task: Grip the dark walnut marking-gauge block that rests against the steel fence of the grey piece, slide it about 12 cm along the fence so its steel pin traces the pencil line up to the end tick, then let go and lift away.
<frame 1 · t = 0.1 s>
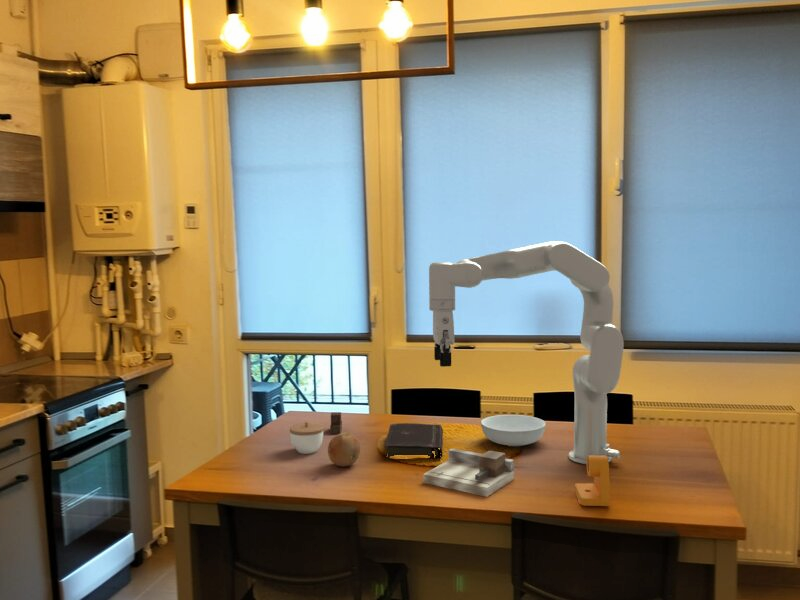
hand: (442, 362, 216), 31 cm above the table, tool pointing down, fingers open, 9 cm apart
gauge: (487, 466, 203), point 5 cm above the table, slide at 0.0 cm
bracket: (591, 501, 192), on the table
lidded jar: (307, 451, 237), on the table
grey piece: (468, 480, 207), on the table
serving bowl: (512, 443, 242), on the table
diary: (413, 449, 239), on the table
onion: (344, 466, 222), on the table
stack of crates: (340, 433, 258), on the table
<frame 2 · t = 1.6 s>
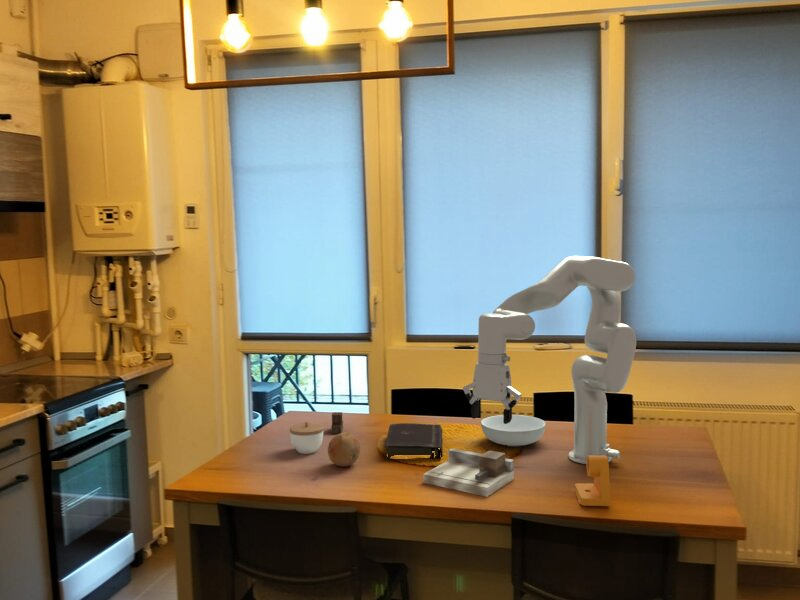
hand: (491, 420, 204), 18 cm above the table, tool pointing down, fingers open, 9 cm apart
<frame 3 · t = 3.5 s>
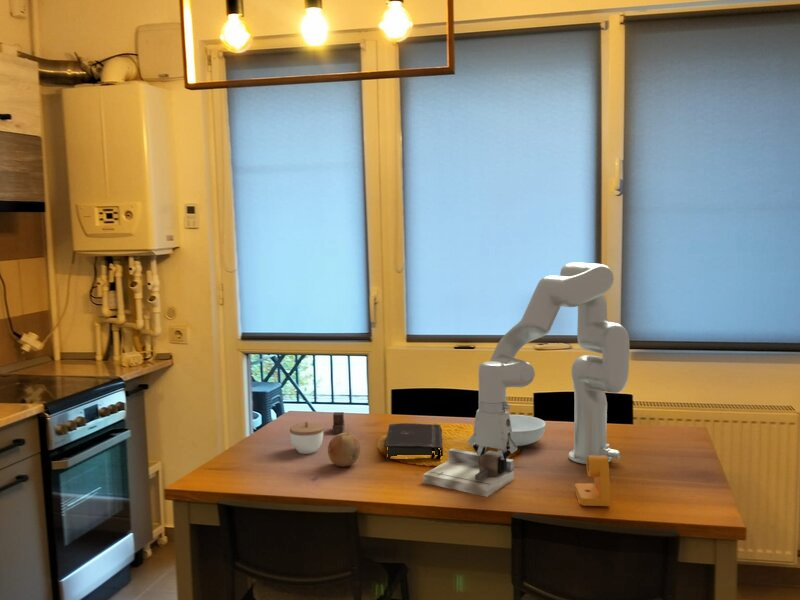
hand: (492, 469, 206), 3 cm above the table, tool pointing down, fingers closed on gauge, 5 cm apart
gauge: (487, 466, 203), point 5 cm above the table, slide at 0.0 cm, touching gripper
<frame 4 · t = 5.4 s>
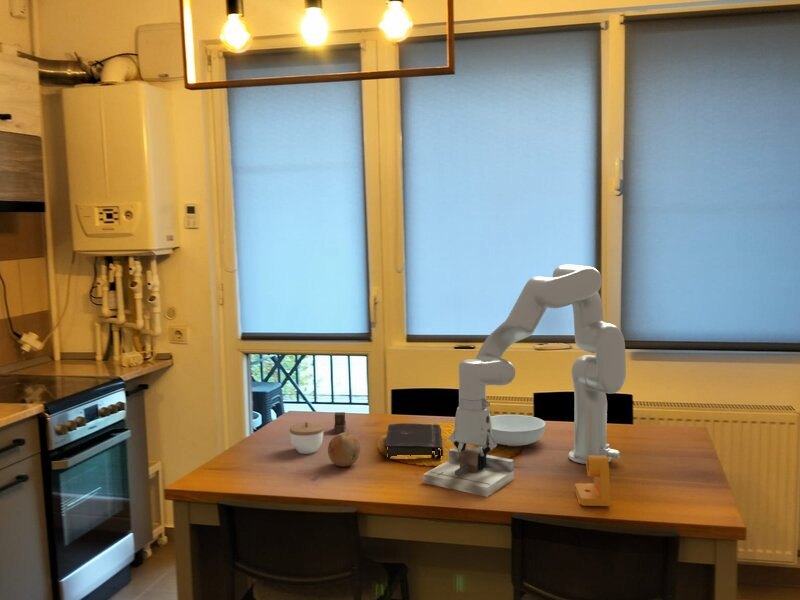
hand: (472, 466, 209), 3 cm above the table, tool pointing down, fingers closed on gauge, 5 cm apart
gauge: (467, 462, 206), point 5 cm above the table, slide at 6.2 cm, touching gripper
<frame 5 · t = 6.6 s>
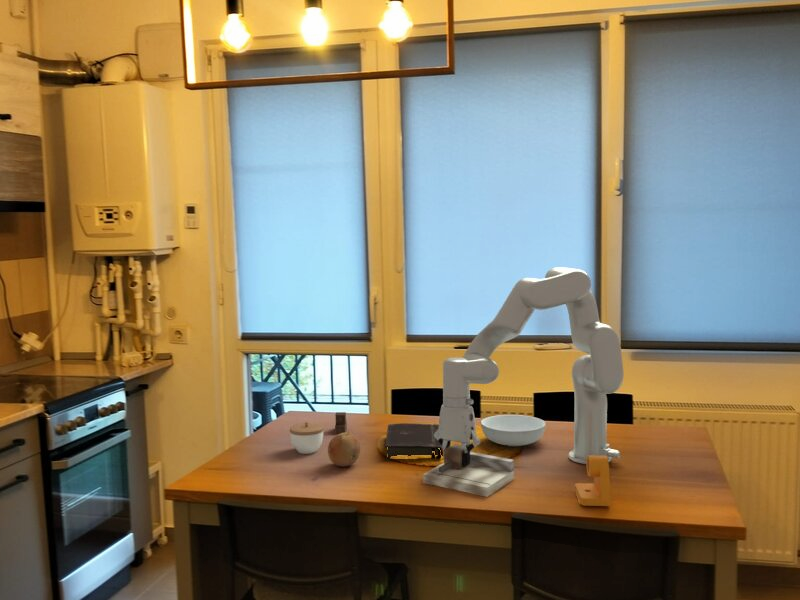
hand: (456, 462, 212), 3 cm above the table, tool pointing down, fingers closed on gauge, 5 cm apart
gauge: (451, 459, 209), point 5 cm above the table, slide at 11.3 cm, touching gripper
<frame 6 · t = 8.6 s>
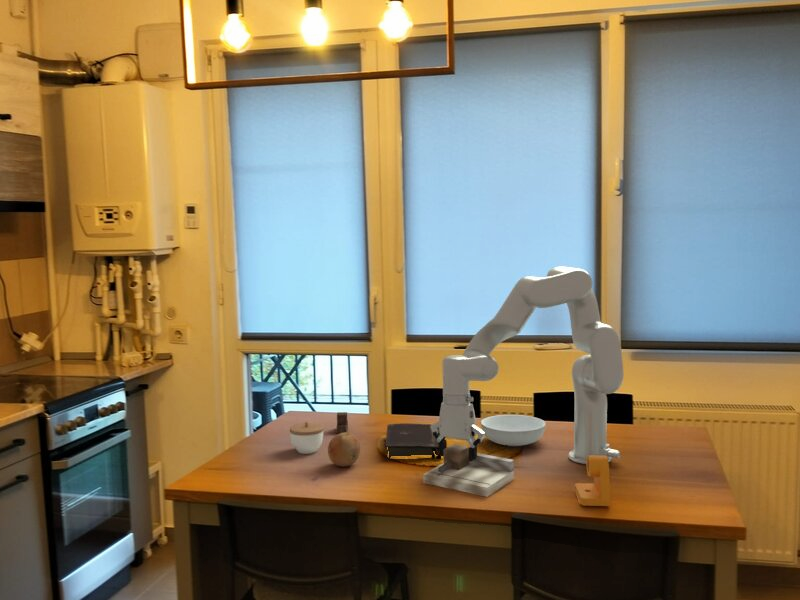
hand: (457, 457, 212), 5 cm above the table, tool pointing down, fingers open, 9 cm apart
gauge: (451, 459, 209), point 5 cm above the table, slide at 11.5 cm
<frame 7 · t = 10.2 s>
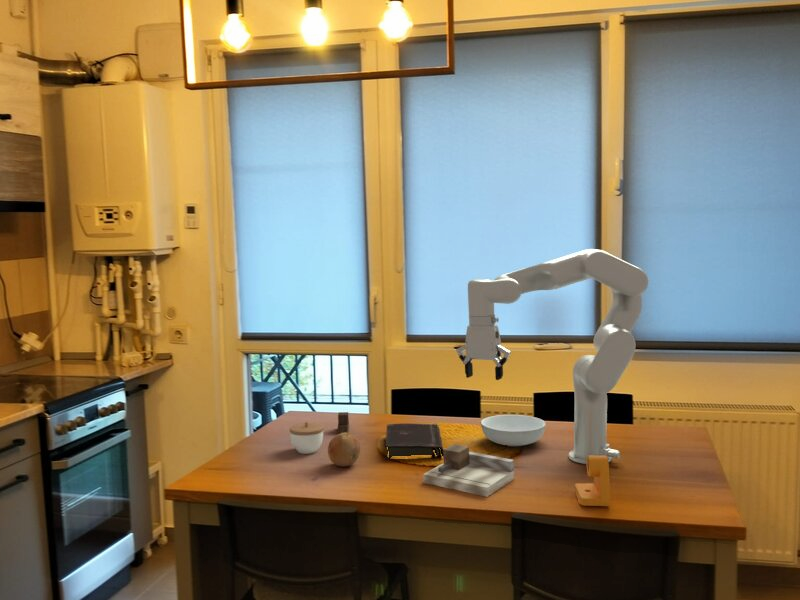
hand: (484, 377, 220), 26 cm above the table, tool pointing down, fingers open, 9 cm apart
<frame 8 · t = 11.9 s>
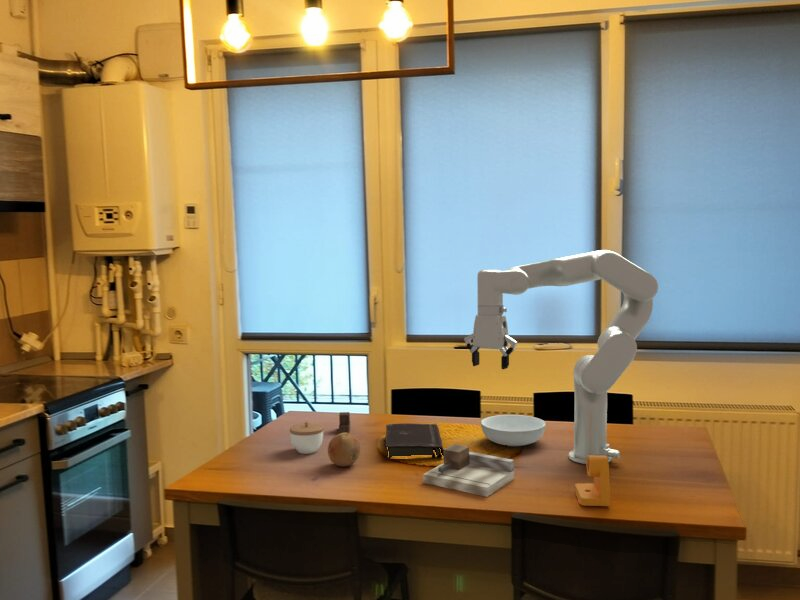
hand: (490, 367, 224), 28 cm above the table, tool pointing down, fingers open, 9 cm apart
at the end: gauge slide at 11.5 cm; the gripper is holding nothing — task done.
